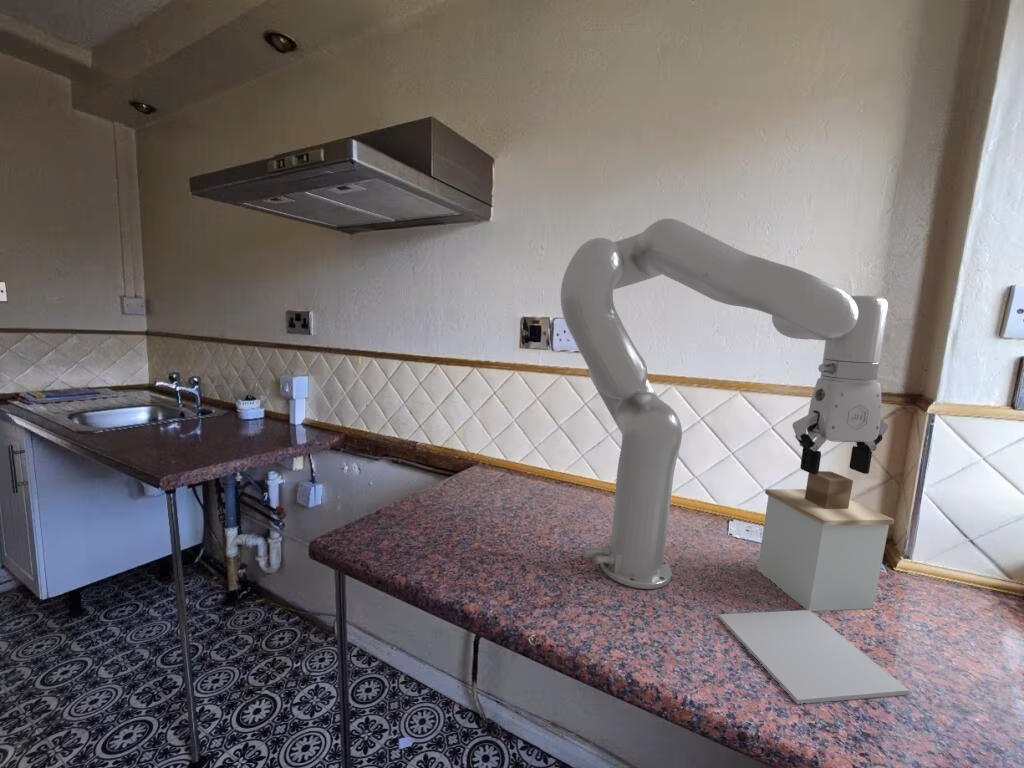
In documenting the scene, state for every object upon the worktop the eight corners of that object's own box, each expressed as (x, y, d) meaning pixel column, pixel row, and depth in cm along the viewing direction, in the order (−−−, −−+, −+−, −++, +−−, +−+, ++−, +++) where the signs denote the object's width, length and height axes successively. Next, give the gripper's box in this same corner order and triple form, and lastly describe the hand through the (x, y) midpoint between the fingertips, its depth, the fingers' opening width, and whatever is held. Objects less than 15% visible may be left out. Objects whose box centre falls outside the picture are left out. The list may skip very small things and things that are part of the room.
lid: (822, 531, 71) (829, 490, 70) (764, 498, 84) (769, 463, 83) (892, 530, 73) (900, 490, 72) (825, 498, 86) (831, 463, 85)
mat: (797, 704, 55) (797, 699, 55) (718, 618, 71) (718, 614, 71) (908, 694, 58) (909, 690, 58) (808, 613, 73) (809, 609, 73)
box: (808, 611, 74) (823, 524, 72) (757, 570, 86) (768, 494, 83) (873, 608, 76) (889, 523, 74) (814, 568, 88) (826, 494, 85)
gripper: (821, 373, 70) (806, 480, 72) (916, 376, 73) (898, 478, 75) (785, 368, 77) (772, 465, 80) (872, 370, 80) (858, 464, 83)
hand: (834, 471), depth 78 cm, fingers open, 9 cm apart
